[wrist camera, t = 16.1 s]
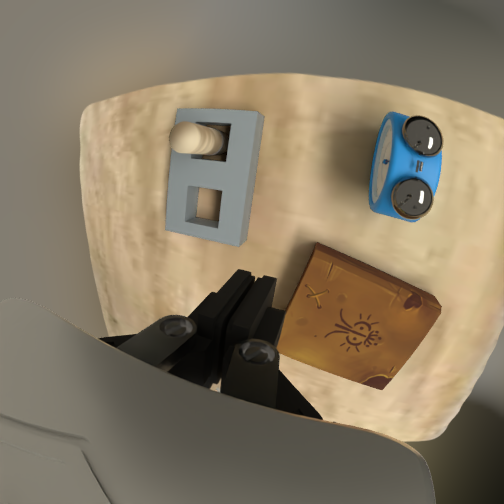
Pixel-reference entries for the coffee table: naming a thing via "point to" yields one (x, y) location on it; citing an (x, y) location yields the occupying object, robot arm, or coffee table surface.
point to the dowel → (198, 139)
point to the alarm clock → (405, 167)
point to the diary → (354, 319)
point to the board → (216, 178)
